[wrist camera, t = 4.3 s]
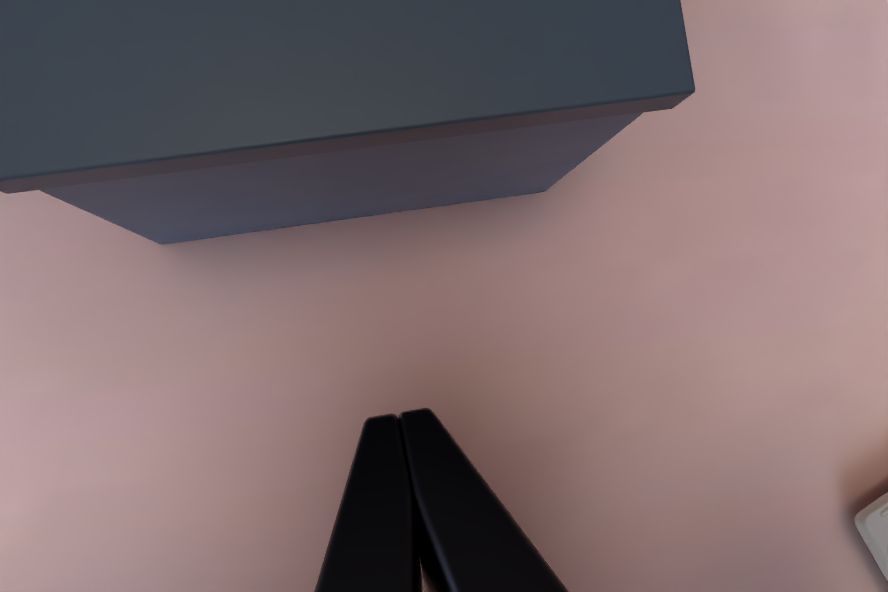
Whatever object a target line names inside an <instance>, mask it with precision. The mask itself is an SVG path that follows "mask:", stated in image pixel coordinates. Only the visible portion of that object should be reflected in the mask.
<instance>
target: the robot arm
mask: <svg viewBox="0 0 888 592" xmlns="http://www.w3.org/2000/svg"><path fill="white" fill-rule="evenodd" d="M420 563H421V566H420ZM421 568H422V573H423V578H424V582H425V586H426V589H427V592H568V590H567V589H566V588H565V586H564V585H563V584H562V582H561V581H560V580H559V578H558V577H557V576H556V574H555V573H554V572H553V570H552V569H551V568H550V566H549V565H548V564H547V562H546V561H545V560H544V558H543V557H542V556H541V554H540V553H539V552H538V550H537V549H536V548H535V546H534V545H533V544H532V542H531V541H530V540H529V538H528V537H527V536H526V534H525V533H524V532H523V530H522V529H521V528H520V526H519V525H518V524H517V522H516V521H515V520H514V518H513V517H512V516H511V514H510V513H509V512H508V511H507V509H506V508H505V507H504V505H503V504H502V503H501V501H500V500H499V499H498V497H497V496H496V495H495V493H494V492H493V491H492V489H491V488H490V487H489V485H488V484H487V483H486V481H485V480H484V479H483V477H482V476H481V475H480V473H479V472H478V471H477V469H476V468H475V467H474V465H473V464H472V463H471V461H470V460H469V459H468V457H467V456H466V455H465V453H464V452H463V451H462V449H461V448H460V447H459V445H458V444H457V443H456V441H455V440H454V439H453V437H452V436H451V435H450V433H449V432H448V431H447V429H446V428H445V427H444V425H443V424H442V423H441V421H440V420H439V419H438V417H437V416H436V415H435V414H434V412H433V411H432V410H430V409H428V408H422V409H416V410H410V411H404V412H402V413H401V414H400V415H399V419H398V416H397V415H395V414H386V415H380V416H374V417H369V418H368V419H366V421H365V422H364V425H363V428H362V431H361V435H360V438H359V442H358V445H357V448H356V452H355V455H354V459H353V462H352V465H351V469H350V472H349V476H348V479H347V482H346V486H345V489H344V493H343V496H342V499H341V503H340V506H339V510H338V513H337V516H336V520H335V523H334V527H333V530H332V533H331V537H330V540H329V544H328V547H327V550H326V554H325V557H324V561H323V564H322V567H321V571H320V574H319V578H318V581H317V584H316V588H315V591H314V592H423V588H422V575H421Z"/></svg>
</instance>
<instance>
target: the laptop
mask: <svg viewBox="0 0 888 592" xmlns="http://www.w3.org/2000/svg"><path fill="white" fill-rule="evenodd" d="M855 525H856V527H857V529H858V531H859V533H860V534H861V536H862V538H863V540H864V541H865V543H866V545H867V547H868V548H869V550H870V552H871V553H872V555H873V557H874V559H875V560H876V562H877V564H878V566H879V567H880V569H881V571H882V573H883V574H884V576H885V578H886V579H887V581H888V492H887V493H885V494H884V495H882V496H881V497H879V498H878V499H877V500H875V501H874V502H872V503H871V504H869V505H868V506H867V507H865V508H864V509H863V510H861V511H860V512H859V513H857V515H856V516H855Z"/></svg>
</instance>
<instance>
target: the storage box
mask: <svg viewBox="0 0 888 592" xmlns="http://www.w3.org/2000/svg"><path fill="white" fill-rule="evenodd" d="M694 92H695V85H694V79H693V74H692V68H691V62H690V56H689V50H688V44H687V38H686V32H685V26H684V20H683V14H682V8H681V2H680V0H0V191H1V192H4V193H7V194H9V193H17V192H24V191H32V190H40V191H42V192H45V193H47V194H49V195H51V196H54V197H56V198H58V199H60V200H62V201H65V202H67V203H69V204H71V205H74V206H76V207H78V208H80V209H83V210H85V211H87V212H89V213H92V214H94V215H96V216H98V217H100V218H103V219H105V220H107V221H109V222H112V223H114V224H116V225H118V226H121V227H123V228H125V229H127V230H130V231H132V232H134V233H136V234H138V235H141V236H143V237H145V238H147V239H150V240H152V241H154V242H156V243H159V244H167V243H175V242H182V241H189V240H196V239H204V238H211V237H218V236H225V235H233V234H240V233H247V232H254V231H262V230H269V229H276V228H284V227H291V226H298V225H305V224H313V223H320V222H327V221H334V220H342V219H349V218H356V217H363V216H371V215H378V214H385V213H392V212H400V211H407V210H414V209H421V208H429V207H436V206H443V205H450V204H458V203H465V202H472V201H480V200H487V199H494V198H501V197H509V196H516V195H523V194H530V193H538V192H544V191H546V190H547V189H548V188H549V187H551V186H552V185H553V184H554V183H556V182H557V181H558V180H559V179H561V178H562V177H563V176H564V175H566V174H567V173H568V172H570V171H571V170H572V169H573V168H575V167H576V166H577V165H578V164H580V163H581V162H582V161H583V160H585V159H586V158H587V157H588V156H590V155H591V154H592V153H593V152H595V151H596V150H597V149H598V148H600V147H601V146H602V145H603V144H605V143H606V142H607V141H608V140H610V139H611V138H612V137H613V136H615V135H616V134H617V133H618V132H620V131H621V130H622V129H623V128H625V127H626V126H627V125H629V124H630V123H631V122H632V121H634V120H635V119H636V118H637V117H639V116H640V115H641V114H642V113H644V112H649V111H657V110H665V109H672V108H674V107H675V106H676V105H678V104H679V103H680V102H682V101H683V100H685V99H686V98H687V97H689V96H690V95H691V94H693V93H694Z"/></svg>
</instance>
